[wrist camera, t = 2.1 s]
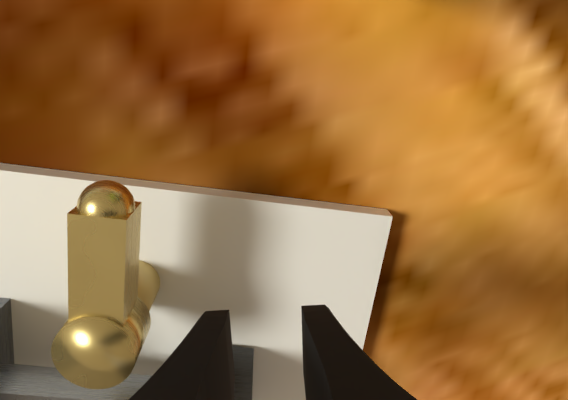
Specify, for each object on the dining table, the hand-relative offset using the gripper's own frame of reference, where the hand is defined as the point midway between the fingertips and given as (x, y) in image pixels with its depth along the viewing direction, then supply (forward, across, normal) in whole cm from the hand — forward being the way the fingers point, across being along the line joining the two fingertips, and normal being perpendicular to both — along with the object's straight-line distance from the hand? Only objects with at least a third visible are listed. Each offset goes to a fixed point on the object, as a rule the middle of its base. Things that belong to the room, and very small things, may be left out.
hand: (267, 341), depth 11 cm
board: (+9, +7, +6) cm, 13 cm away
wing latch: (+5, +6, 0) cm, 8 cm away
